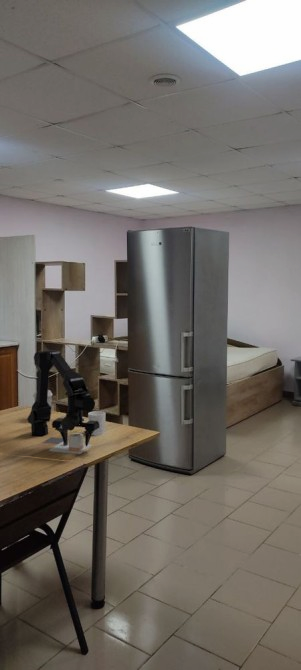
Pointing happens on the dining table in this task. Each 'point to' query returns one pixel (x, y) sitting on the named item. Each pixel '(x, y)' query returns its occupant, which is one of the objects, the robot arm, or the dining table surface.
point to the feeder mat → (53, 440)
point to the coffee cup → (47, 398)
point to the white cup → (100, 418)
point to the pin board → (67, 448)
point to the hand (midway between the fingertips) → (76, 445)
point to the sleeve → (76, 442)
